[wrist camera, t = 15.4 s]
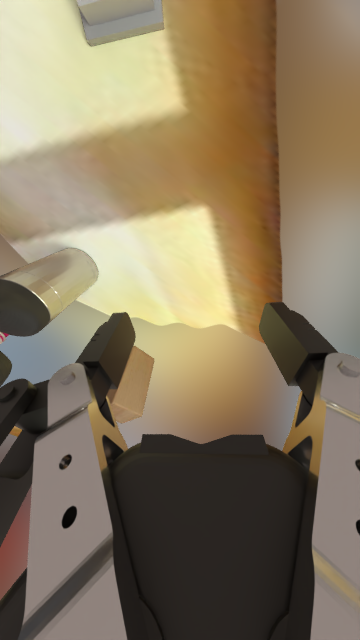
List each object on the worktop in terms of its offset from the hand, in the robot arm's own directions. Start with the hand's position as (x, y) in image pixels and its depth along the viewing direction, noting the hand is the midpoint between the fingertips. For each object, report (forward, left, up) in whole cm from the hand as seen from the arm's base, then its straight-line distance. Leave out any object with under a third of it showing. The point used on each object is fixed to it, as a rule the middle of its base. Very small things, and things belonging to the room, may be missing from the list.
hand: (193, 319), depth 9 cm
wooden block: (-23, -40, -30) cm, 55 cm away
